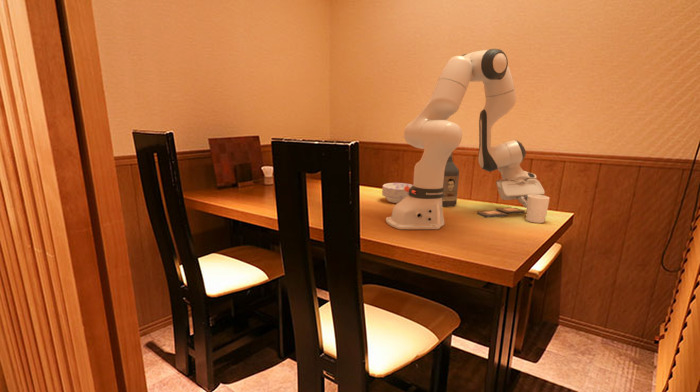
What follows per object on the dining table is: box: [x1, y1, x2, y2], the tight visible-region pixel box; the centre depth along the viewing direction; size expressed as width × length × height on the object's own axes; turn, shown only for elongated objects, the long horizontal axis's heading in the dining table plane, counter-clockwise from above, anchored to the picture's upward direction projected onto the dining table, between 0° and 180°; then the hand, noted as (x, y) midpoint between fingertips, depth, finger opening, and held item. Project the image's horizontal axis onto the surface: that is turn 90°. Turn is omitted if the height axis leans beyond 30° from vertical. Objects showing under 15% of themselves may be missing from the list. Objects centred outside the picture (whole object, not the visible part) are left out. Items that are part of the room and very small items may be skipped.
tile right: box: [495, 207, 526, 215], centre depth 162 cm, size 10×6×1 cm, turn 106°
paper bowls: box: [382, 182, 413, 204], centre depth 177 cm, size 15×15×8 cm
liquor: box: [442, 150, 460, 208], centre depth 170 cm, size 9×9×30 cm
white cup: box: [525, 195, 551, 224], centre depth 148 cm, size 8×8×10 cm
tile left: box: [476, 210, 508, 219], centre depth 156 cm, size 10×6×1 cm, turn 106°
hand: (528, 206), depth 152 cm, fingers closed, pressing on white cup
